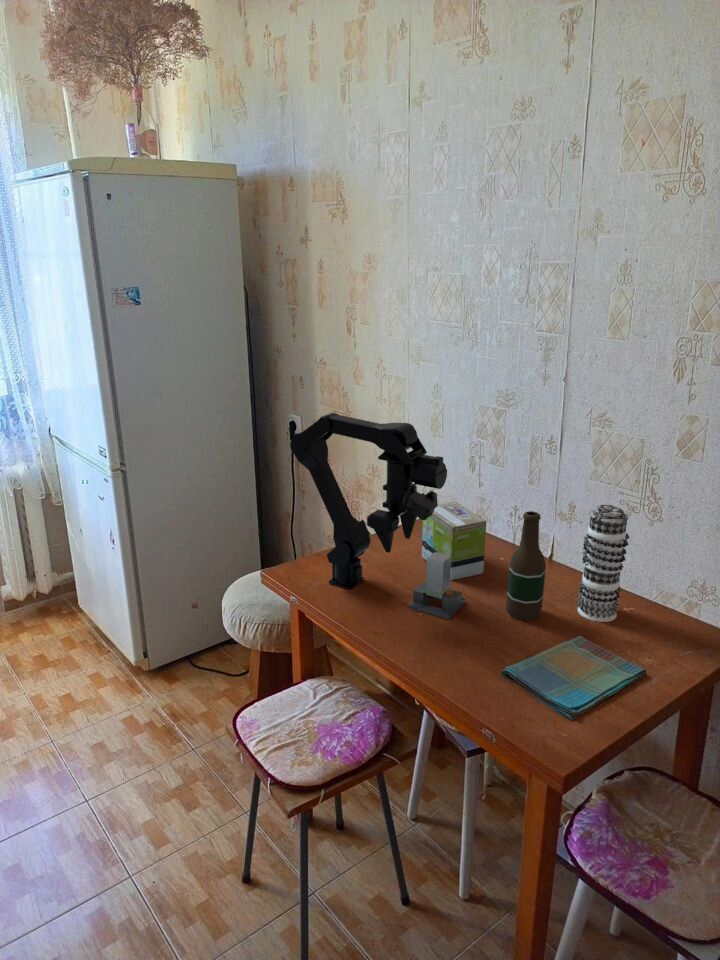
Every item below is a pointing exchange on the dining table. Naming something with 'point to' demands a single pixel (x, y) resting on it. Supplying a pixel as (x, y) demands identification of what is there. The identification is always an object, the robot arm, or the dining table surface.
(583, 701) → the dish towel
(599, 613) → the decorative candle
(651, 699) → the dining table surface
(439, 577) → the grey rectangular block
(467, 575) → the tea box
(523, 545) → the beer bottle
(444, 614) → the grey square frame
